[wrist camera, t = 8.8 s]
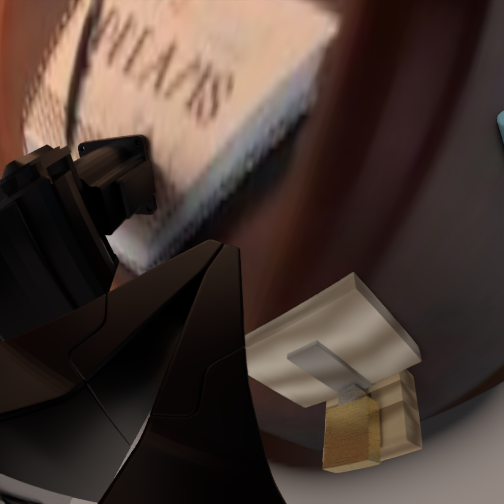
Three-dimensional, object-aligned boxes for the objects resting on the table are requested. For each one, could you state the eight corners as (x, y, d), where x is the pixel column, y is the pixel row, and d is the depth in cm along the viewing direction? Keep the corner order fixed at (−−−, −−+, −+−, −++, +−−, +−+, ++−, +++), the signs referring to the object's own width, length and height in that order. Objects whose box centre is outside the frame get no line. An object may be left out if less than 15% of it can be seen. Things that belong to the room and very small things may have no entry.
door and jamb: (227, 344, 32) (204, 426, 24) (353, 271, 24) (365, 377, 16) (329, 408, 37) (325, 472, 29) (434, 365, 29) (447, 439, 21)
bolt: (327, 394, 30) (322, 469, 22) (366, 379, 27) (368, 459, 20) (358, 413, 32) (357, 478, 25) (394, 400, 29) (398, 469, 22)
